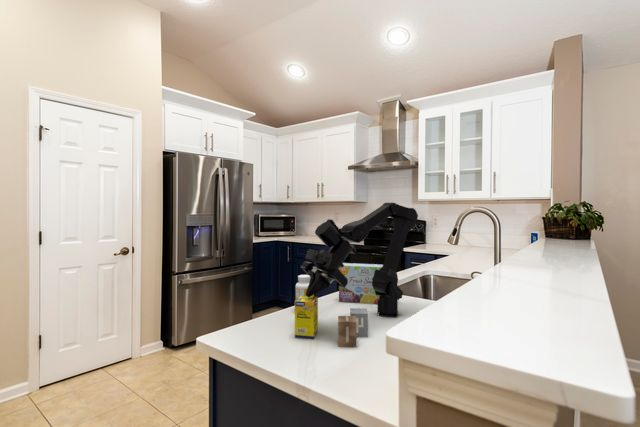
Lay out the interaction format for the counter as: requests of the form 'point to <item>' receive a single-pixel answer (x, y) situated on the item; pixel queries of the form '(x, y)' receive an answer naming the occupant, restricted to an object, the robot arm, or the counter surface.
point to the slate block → (360, 321)
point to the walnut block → (346, 331)
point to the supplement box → (306, 317)
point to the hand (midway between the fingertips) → (307, 296)
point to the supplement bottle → (302, 285)
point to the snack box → (359, 283)
